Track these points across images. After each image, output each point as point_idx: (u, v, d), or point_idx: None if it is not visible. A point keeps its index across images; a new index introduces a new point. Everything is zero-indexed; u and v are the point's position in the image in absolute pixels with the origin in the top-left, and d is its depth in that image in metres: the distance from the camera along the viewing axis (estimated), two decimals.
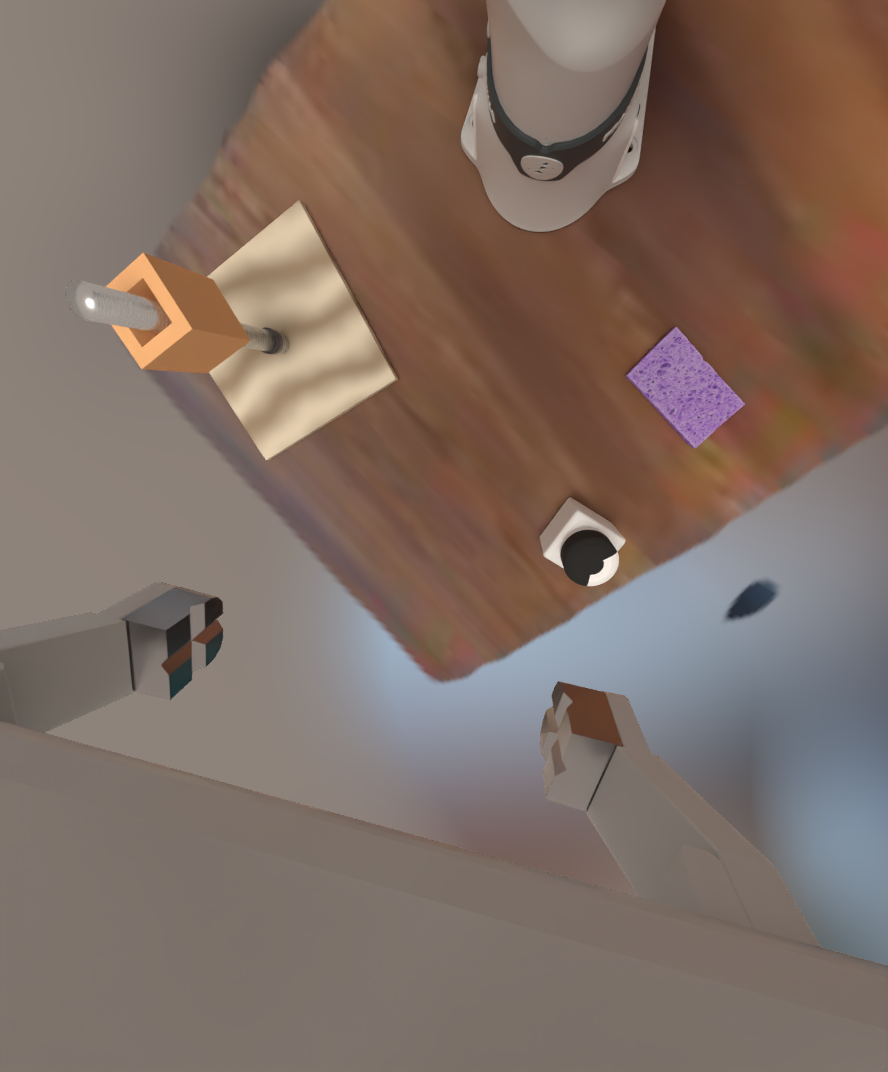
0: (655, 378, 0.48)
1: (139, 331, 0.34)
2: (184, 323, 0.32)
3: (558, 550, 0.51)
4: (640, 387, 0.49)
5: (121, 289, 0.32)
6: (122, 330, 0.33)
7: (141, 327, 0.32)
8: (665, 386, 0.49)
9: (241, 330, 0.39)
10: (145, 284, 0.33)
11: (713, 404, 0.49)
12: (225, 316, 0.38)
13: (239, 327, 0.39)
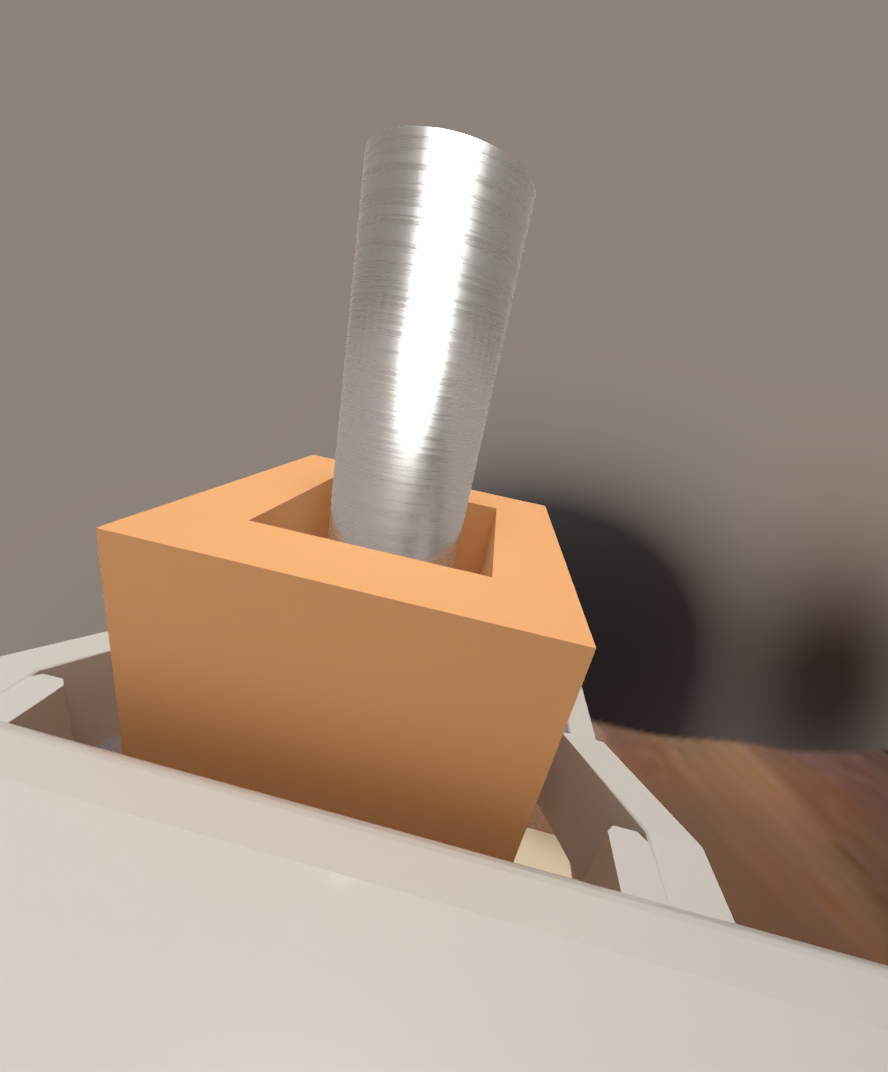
0: None
1: None
2: (560, 612, 0.05)
3: None
4: None
5: None
6: (273, 484, 0.08)
7: (375, 478, 0.06)
8: None
9: None
10: (463, 532, 0.09)
11: None
12: None
13: None
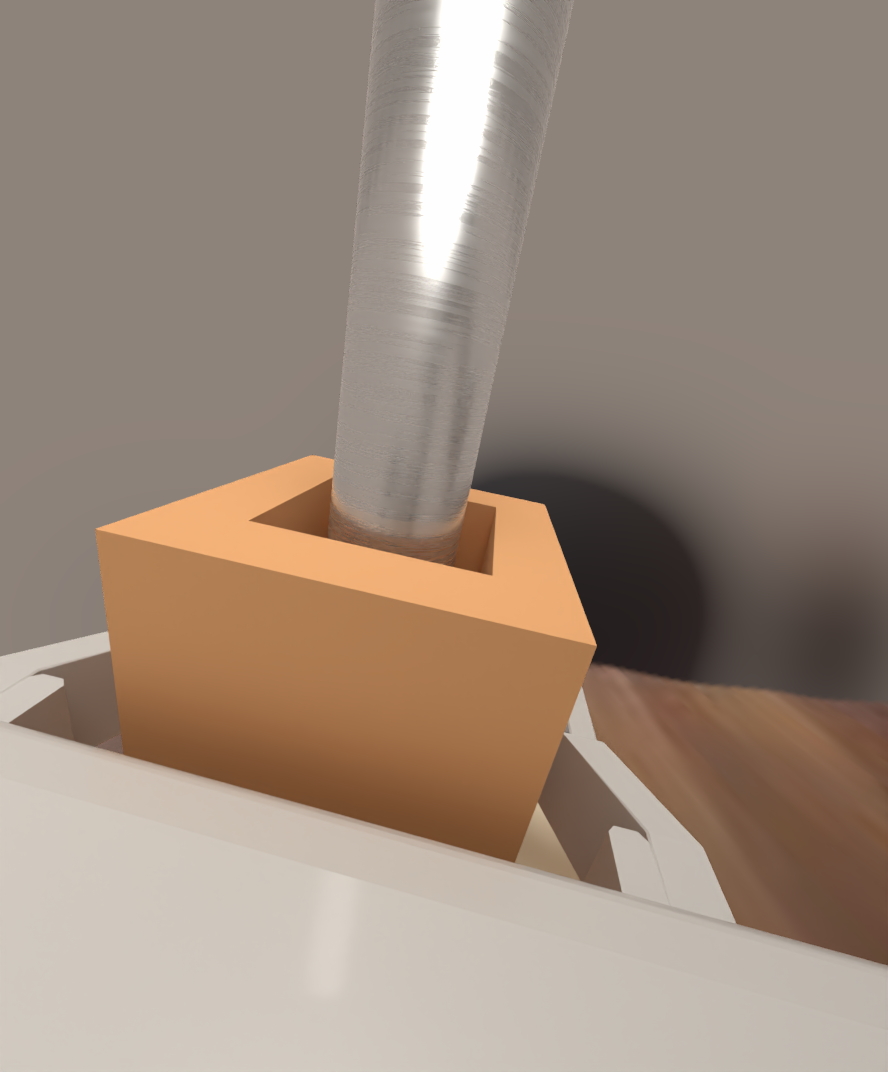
0: None
1: None
2: (560, 610, 0.05)
3: None
4: None
5: None
6: (272, 484, 0.08)
7: None
8: None
9: None
10: (462, 532, 0.09)
11: None
12: None
13: None
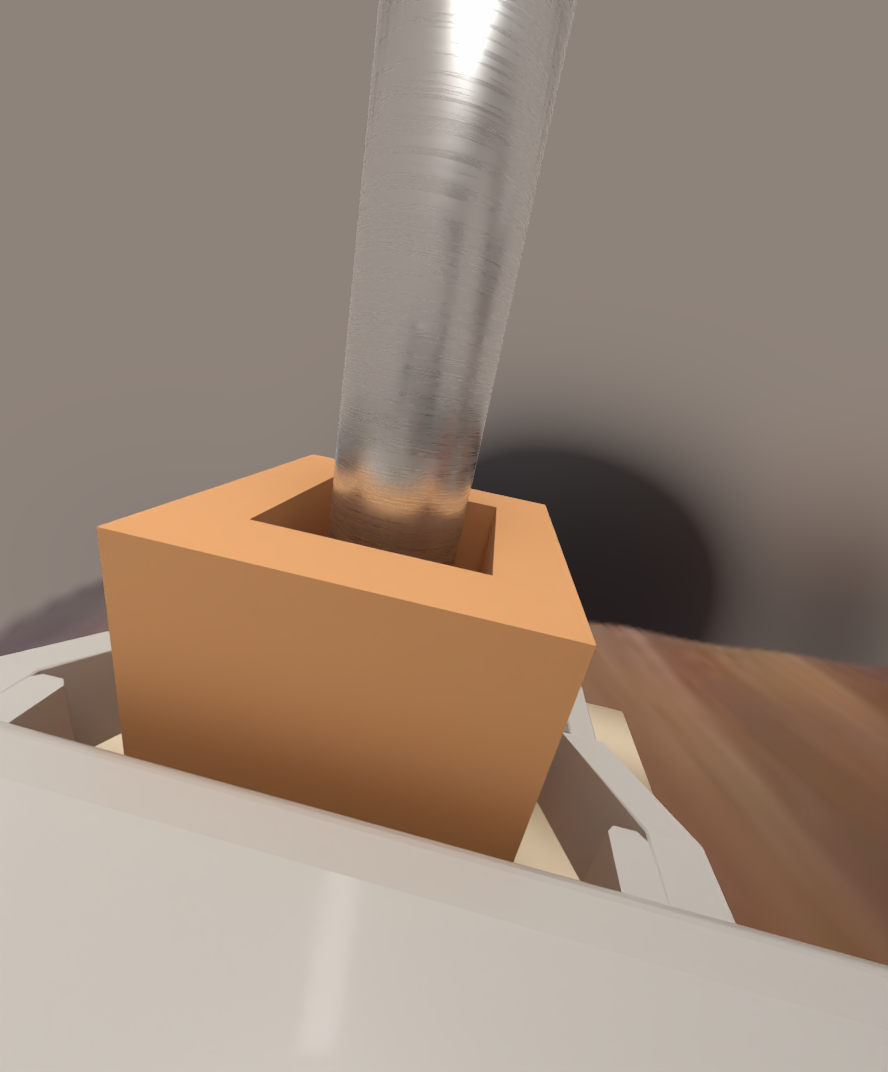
0: None
1: None
2: (560, 610, 0.05)
3: None
4: None
5: None
6: (273, 483, 0.08)
7: None
8: None
9: None
10: (463, 532, 0.09)
11: None
12: None
13: None
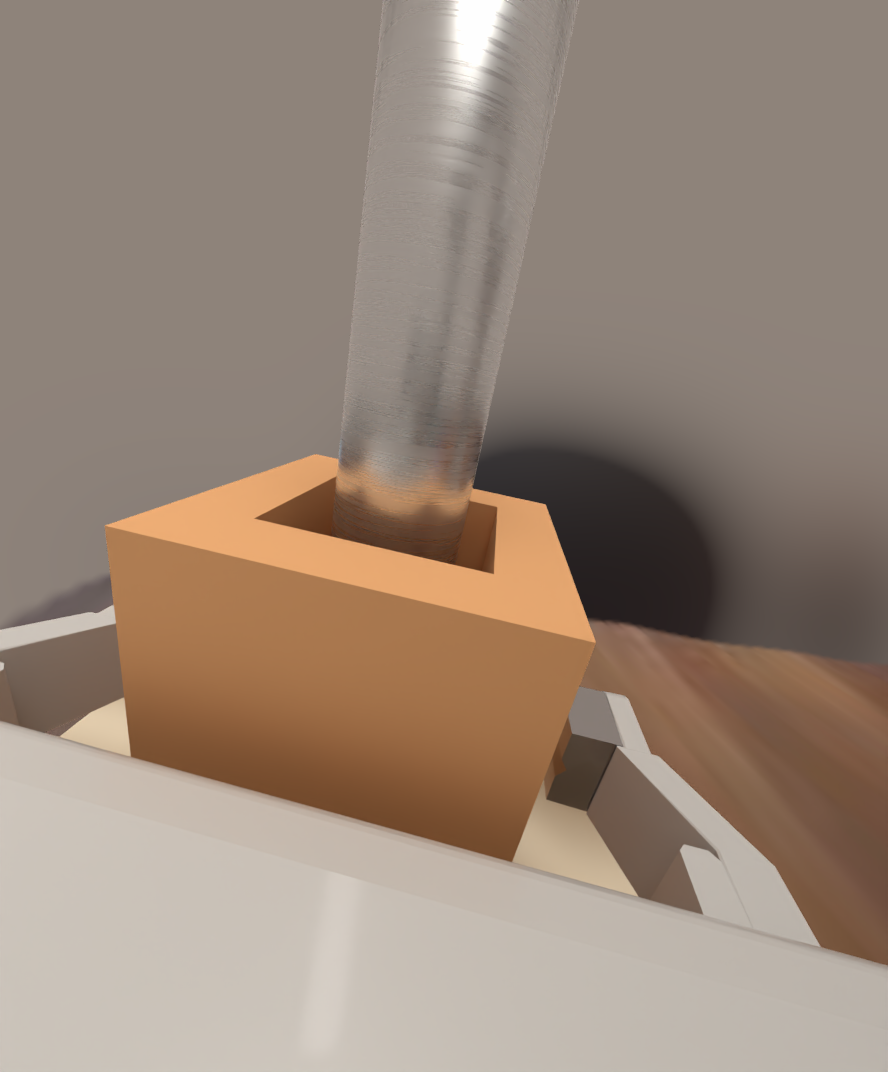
0: None
1: None
2: (560, 608, 0.05)
3: None
4: None
5: None
6: (276, 483, 0.08)
7: None
8: None
9: None
10: (464, 531, 0.09)
11: None
12: None
13: None
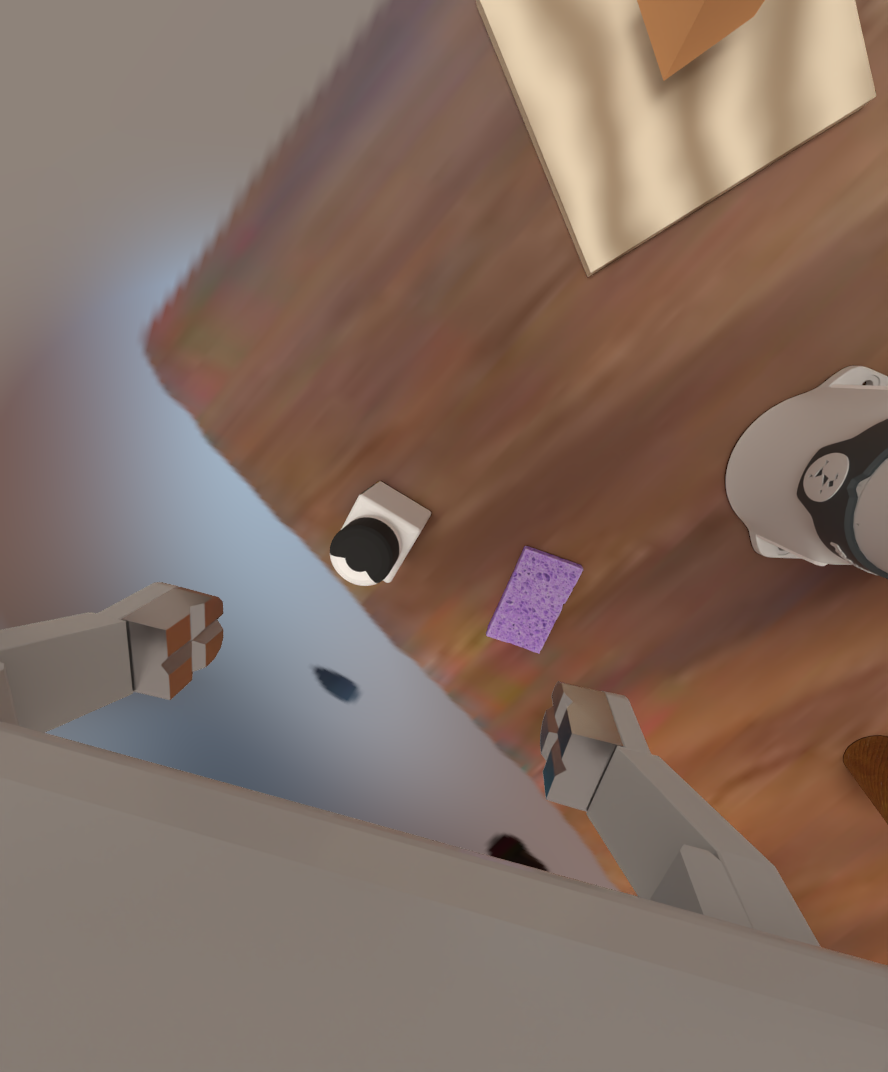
0: (532, 574, 0.47)
1: None
2: None
3: (368, 512, 0.41)
4: (519, 565, 0.47)
5: None
6: None
7: None
8: (528, 585, 0.48)
9: (680, 65, 0.28)
10: None
11: (529, 630, 0.50)
12: (706, 36, 0.27)
13: (685, 61, 0.28)
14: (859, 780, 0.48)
